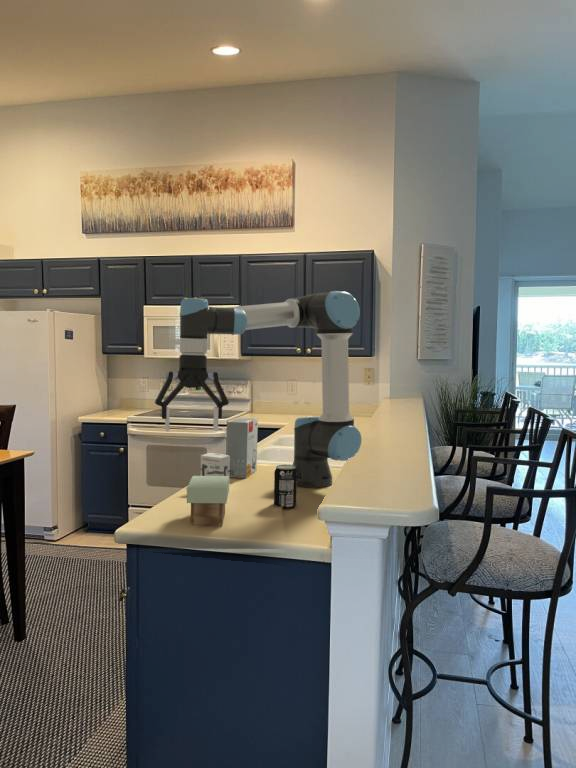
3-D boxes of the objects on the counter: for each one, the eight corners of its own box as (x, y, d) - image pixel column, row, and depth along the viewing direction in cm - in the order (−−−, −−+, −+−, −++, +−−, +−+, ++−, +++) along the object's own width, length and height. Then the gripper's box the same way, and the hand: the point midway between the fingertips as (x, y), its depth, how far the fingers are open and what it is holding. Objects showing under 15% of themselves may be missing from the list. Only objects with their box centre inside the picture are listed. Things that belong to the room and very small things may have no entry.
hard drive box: (246, 479, 220) (247, 422, 219) (225, 477, 222) (226, 421, 220) (257, 470, 235) (258, 417, 234) (237, 469, 237) (238, 417, 236)
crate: (225, 515, 172) (225, 490, 172) (222, 529, 160) (222, 502, 159) (195, 515, 172) (196, 490, 172) (190, 529, 159) (190, 502, 159)
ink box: (199, 490, 201) (199, 454, 200) (207, 488, 205) (208, 452, 205) (221, 494, 197) (222, 457, 196) (230, 491, 201) (230, 455, 201)
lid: (229, 494, 173) (229, 476, 172) (226, 507, 159) (226, 487, 158) (192, 493, 172) (192, 475, 172) (186, 506, 158) (186, 487, 158)
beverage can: (283, 502, 188) (284, 463, 187) (300, 506, 184) (301, 466, 183) (269, 507, 183) (269, 466, 182) (286, 511, 179) (287, 469, 178)
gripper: (233, 355, 181) (232, 428, 182) (145, 353, 173) (144, 429, 174) (240, 355, 174) (238, 431, 175) (148, 353, 165) (147, 432, 167)
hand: (191, 430), depth 174 cm, fingers open, 13 cm apart
